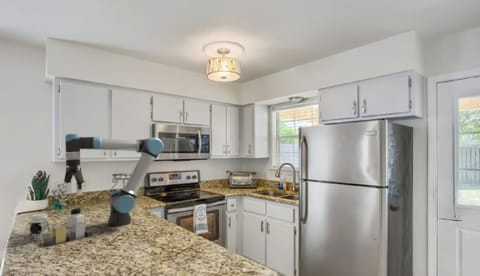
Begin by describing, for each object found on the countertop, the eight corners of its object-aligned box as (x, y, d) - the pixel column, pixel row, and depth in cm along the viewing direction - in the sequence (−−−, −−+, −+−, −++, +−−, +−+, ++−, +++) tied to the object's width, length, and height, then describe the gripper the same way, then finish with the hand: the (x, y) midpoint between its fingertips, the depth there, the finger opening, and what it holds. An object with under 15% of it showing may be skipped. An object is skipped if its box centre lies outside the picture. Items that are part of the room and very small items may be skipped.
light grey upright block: (81, 235, 166) (81, 221, 166) (84, 236, 163) (84, 223, 163) (72, 237, 162) (72, 223, 162) (75, 239, 159) (75, 224, 159)
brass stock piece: (62, 239, 158) (62, 225, 158) (65, 241, 155) (66, 227, 155) (52, 242, 154) (52, 227, 154) (55, 243, 151) (56, 229, 151)
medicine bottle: (83, 225, 191) (84, 207, 192) (76, 227, 184) (76, 209, 185) (74, 224, 192) (74, 207, 192) (66, 227, 185) (67, 209, 185)
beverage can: (39, 236, 166) (39, 216, 166) (27, 236, 167) (28, 216, 168) (50, 232, 174) (51, 213, 174) (40, 232, 175) (40, 213, 176)
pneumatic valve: (29, 243, 153) (29, 221, 154) (38, 237, 164) (38, 217, 165) (40, 242, 155) (40, 221, 155) (48, 236, 166) (49, 216, 166)
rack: (85, 233, 170) (85, 229, 170) (92, 236, 164) (92, 231, 165) (43, 243, 152) (43, 238, 153) (50, 247, 147) (50, 241, 147)
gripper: (57, 159, 172) (58, 193, 171) (76, 159, 158) (77, 196, 157) (70, 158, 178) (71, 191, 178) (89, 158, 164) (90, 194, 163)
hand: (74, 194), depth 167 cm, fingers open, 13 cm apart
